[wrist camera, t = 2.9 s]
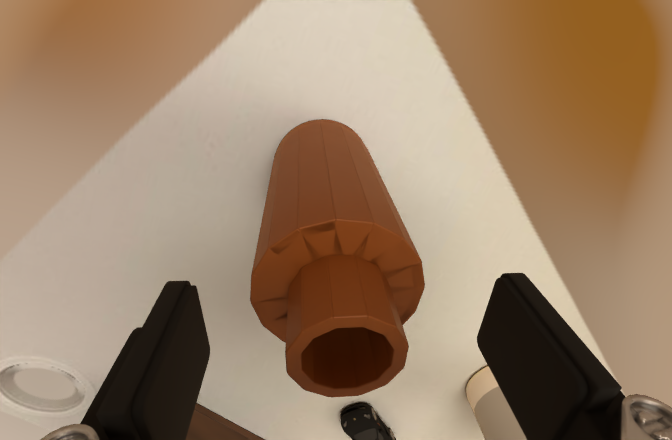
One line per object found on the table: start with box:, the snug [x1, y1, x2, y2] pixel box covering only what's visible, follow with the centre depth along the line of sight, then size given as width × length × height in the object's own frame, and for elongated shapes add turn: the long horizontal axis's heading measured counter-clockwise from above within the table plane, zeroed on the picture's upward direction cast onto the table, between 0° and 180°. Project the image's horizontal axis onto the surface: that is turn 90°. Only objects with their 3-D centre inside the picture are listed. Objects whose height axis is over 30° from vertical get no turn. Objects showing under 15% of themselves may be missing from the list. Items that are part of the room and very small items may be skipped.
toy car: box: [341, 404, 396, 440], centre depth 34 cm, size 8×3×2 cm, turn 27°
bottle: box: [250, 119, 425, 397], centre depth 15 cm, size 6×6×14 cm
